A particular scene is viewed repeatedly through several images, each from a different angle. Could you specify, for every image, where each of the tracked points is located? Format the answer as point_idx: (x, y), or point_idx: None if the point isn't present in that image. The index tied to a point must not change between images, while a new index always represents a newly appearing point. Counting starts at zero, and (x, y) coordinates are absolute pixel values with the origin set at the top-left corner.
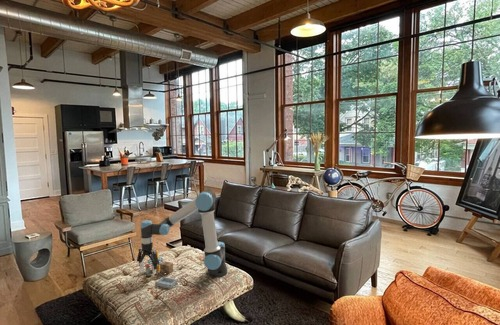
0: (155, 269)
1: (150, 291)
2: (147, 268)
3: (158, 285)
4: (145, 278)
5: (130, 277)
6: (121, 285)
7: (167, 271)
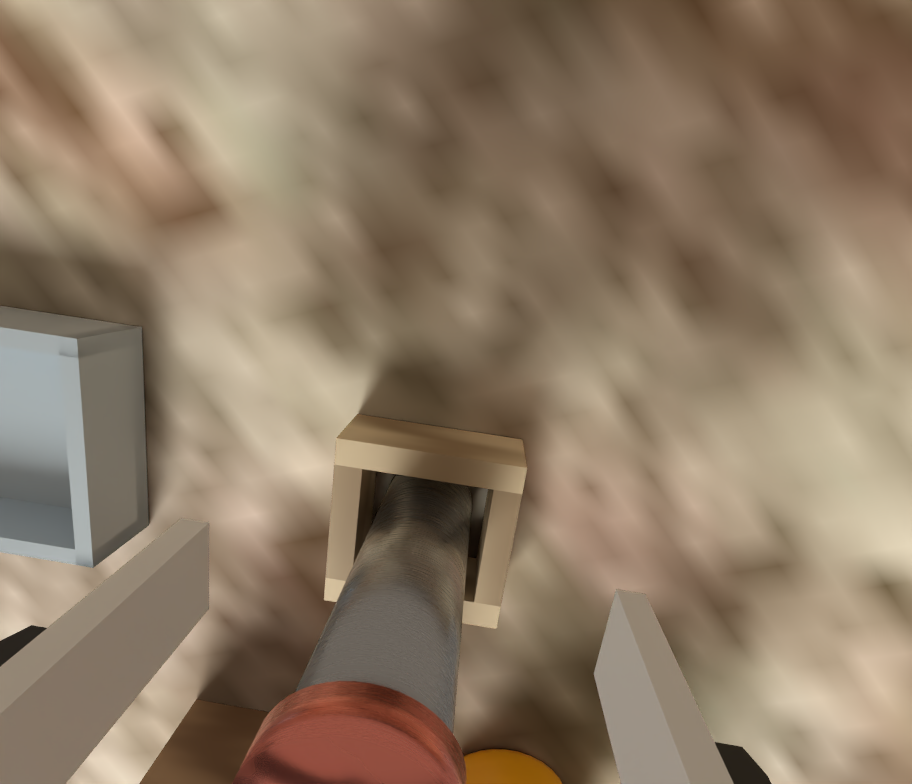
0: (28, 637)
1: (88, 90)
2: (339, 654)
3: (72, 319)
4: (430, 448)
5: (842, 505)
6: (875, 152)
7: (193, 754)
